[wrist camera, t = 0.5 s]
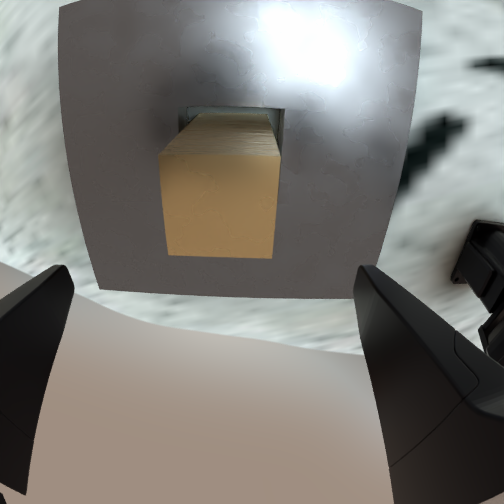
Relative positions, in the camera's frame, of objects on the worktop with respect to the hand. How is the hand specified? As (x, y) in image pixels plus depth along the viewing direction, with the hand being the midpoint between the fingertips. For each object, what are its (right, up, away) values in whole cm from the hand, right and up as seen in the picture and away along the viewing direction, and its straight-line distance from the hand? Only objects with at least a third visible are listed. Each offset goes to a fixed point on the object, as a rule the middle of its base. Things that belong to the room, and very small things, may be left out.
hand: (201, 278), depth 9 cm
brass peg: (0, +7, +9) cm, 12 cm away
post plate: (0, +7, +9) cm, 12 cm away
